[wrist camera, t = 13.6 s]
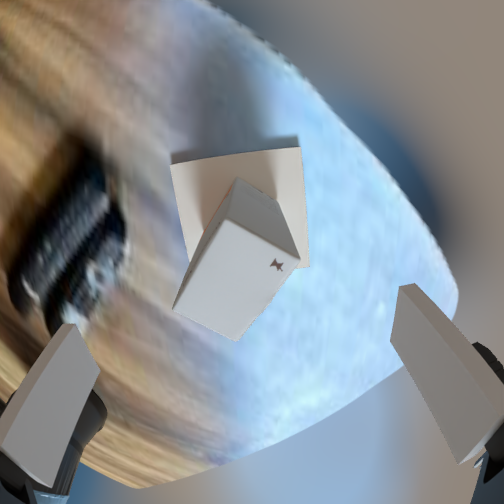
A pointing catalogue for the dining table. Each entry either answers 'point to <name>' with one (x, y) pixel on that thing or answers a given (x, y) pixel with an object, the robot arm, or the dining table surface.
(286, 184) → the coaster
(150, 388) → the dining table surface
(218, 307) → the skincare box
